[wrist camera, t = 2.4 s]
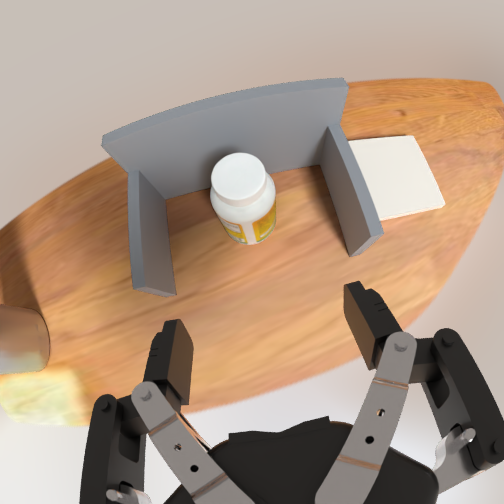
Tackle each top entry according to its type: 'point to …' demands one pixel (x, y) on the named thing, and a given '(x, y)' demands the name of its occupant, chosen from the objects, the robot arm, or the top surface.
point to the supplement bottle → (244, 198)
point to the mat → (397, 176)
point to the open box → (228, 142)
